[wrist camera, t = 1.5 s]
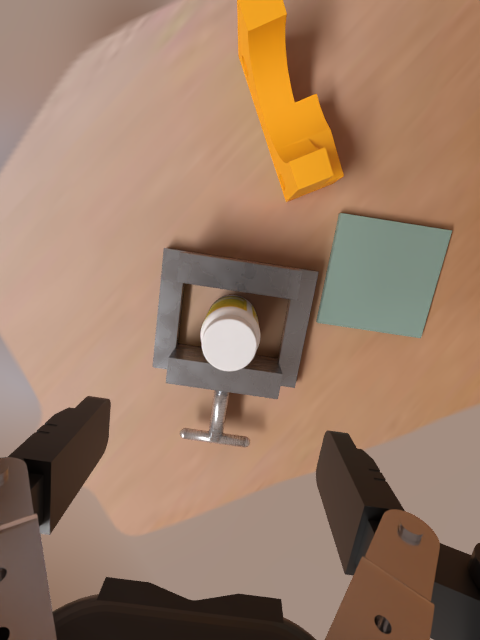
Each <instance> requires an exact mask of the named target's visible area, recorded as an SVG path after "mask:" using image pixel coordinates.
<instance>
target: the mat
mask: <svg viewBox="0 0 480 640" xmlns="http://www.w3.org/2000/svg"><path fill="white" fill-rule="evenodd" d="M451 233H452V231H451V230H445V229H439V228H432V227H426V226H420V225H413V224H407V223H401V222H395V221H388V220H382V219H376V218H369V217H363V216H357V215H350V214H344V213H340V214H339V217H338V221H337V226H336V231H335V235H334V240H333V245H332V250H331V254H330V259H329V264H328V269H327V273H326V278H325V283H324V288H323V292H322V297H321V302H320V306H319V311H318V316H317V322H318V323H323V324H330V325H336V326H343V327H350V328H356V329H363V330H370V331H376V332H383V333H390V334H396V335H403V336H410V337H416V338H421V336H422V333H423V329H424V326H425V322H426V319H427V315H428V312H429V309H430V305H431V302H432V298H433V295H434V291H435V288H436V285H437V281H438V278H439V274H440V271H441V267H442V264H443V261H444V257H445V254H446V250H447V247H448V243H449V240H450V236H451Z"/></svg>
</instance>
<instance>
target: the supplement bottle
mask: <svg viewBox="0 0 480 640" xmlns="http://www.w3.org/2000/svg"><path fill="white" fill-rule="evenodd" d="M200 336H201V342H202V351H203V354H204V356H205V358H206V360H207V361H208V362H209V363H210V364H211V365H212V366H214V367H215V368H217V369H220V370H223V371H236V370H239V369H242V368H244V367H245V366H247V365H248V364H249V363H250V362H251V361H252V359H253V358H254V356H255V353H256V350H257V348H258V346H259V343H260V337H261V335H260V328H259V323H258V318H257V313H256V310H255V308H254V307H253V305H252V304H251V303H250V302H249V301H248V300H246V299H245V298H243V297H240V296H237V295H228V296H224V297H222V298H220V299H218V300H217V301H216V302H215V303H214V304H213V305H212V306H211V308H210V310H209V312H208V314H207V316H206V318H205V320H204V322H203V324H202V327H201V334H200Z"/></svg>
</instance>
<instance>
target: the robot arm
mask: <svg viewBox="0 0 480 640" xmlns="http://www.w3.org/2000/svg"><path fill="white" fill-rule="evenodd" d="M110 407H111V403H110V400H109V399H106V398H99V397H92V396H87V397H86V398H85V399H84V400H83V401H82V402H81V403H80V404H79V405H78V406H77V407H76V408H67V409H65V410H63V411H61V412H59V413H57V414H55V415H54V416H52V417H51V418H50V419H49V420H48V421H47V422H46V423H45V425H43V426H41V427H40V428H39V429H38V430H37V432H36V433H34V434H33V435H31V436H30V437H29V438H28V439H27V440H26V441H25V442H24V443H23V444H21V445H20V446H19V447H18V448H17V449H16V450H15V451H14V452H13V453H11V454H10V455H9V456H8V457H3V458H0V640H316V639H315V638H314V637H313V636H312V635H310V634H309V633H308V632H307V631H305V630H304V629H303V628H301V627H300V626H299V625H297V624H295V623H293V622H292V621H290V620H288V619H286V618H284V617H283V612H282V603H281V599H276V598H268V597H260V596H252V595H244V594H235V595H228V596H222V597H216V598H209V599H203V600H196V601H193V600H188V599H186V598H184V597H182V596H179V595H177V594H175V593H172V592H170V591H168V590H165V589H163V588H160V587H158V586H156V585H154V584H151V583H149V582H141V581H133V580H124V579H117V578H109V577H106V578H105V581H104V583H103V586H102V588H101V591H100V593H99V594H97V595H92V596H88V597H84V598H81V599H78V600H76V601H73V602H71V603H68V604H66V605H64V606H62V607H60V608H58V609H56V610H55V611H53V612H52V606H51V599H50V592H49V586H48V580H47V573H46V567H45V560H44V554H43V547H42V542H41V534H48V535H50V534H51V532H52V531H53V529H54V528H55V526H56V525H57V523H58V522H59V520H60V519H61V517H62V516H63V514H64V513H65V511H66V510H67V508H68V507H69V505H70V504H71V502H72V501H73V499H74V498H75V496H76V495H77V493H78V492H79V490H80V489H81V487H82V486H83V484H84V483H85V481H86V480H87V478H88V477H89V475H90V474H91V472H92V471H93V469H94V468H95V466H96V465H97V463H98V462H99V460H100V459H101V457H102V455H103V454H104V452H105V449H106V446H107V443H108V437H109V422H110ZM316 481H317V486H318V489H319V492H320V496H321V499H322V502H323V505H324V509H325V511H326V515H327V518H328V522H329V525H330V528H331V531H332V534H333V537H334V541H335V544H336V547H337V550H338V554H339V557H340V560H341V563H342V566H343V569H344V573H345V574H347V575H353V578H352V580H351V582H350V584H349V587H348V589H347V591H346V593H345V596H344V598H343V600H342V602H341V605H340V607H339V609H338V611H337V614H336V616H335V618H334V620H333V623H332V625H331V627H330V629H329V631H328V634H327V636H326V638H325V640H430V638H432V639H434V640H480V543H478V544H477V545H476V546H475V548H474V551H473V553H472V555H469V554H467V553H464V552H461V551H459V550H456V549H454V548H451V547H448V546H446V545H443V544H441V543H439V540H438V537H437V536H436V534H435V533H434V531H433V530H432V529H431V528H430V527H429V526H428V525H427V524H426V523H425V522H424V521H422V520H421V519H420V518H418V517H416V516H415V515H413V514H410V513H408V512H406V511H404V509H403V507H402V506H401V504H400V502H399V501H398V499H397V498H396V496H395V494H394V493H393V491H392V490H391V488H390V486H389V485H388V483H387V482H386V481H385V478H384V476H383V475H382V473H380V470H379V468H378V466H377V465H376V463H375V462H374V460H373V459H372V458H371V457H370V456H369V455H368V454H367V453H365V452H364V451H363V450H362V449H357V448H356V446H355V444H354V443H353V441H352V439H351V437H350V435H349V434H348V433H342V432H335V431H326V433H325V435H324V439H323V443H322V447H321V451H320V456H319V460H318V464H317V469H316Z"/></svg>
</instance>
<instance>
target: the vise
mask: <svg viewBox="0 0 480 640" xmlns="http://www.w3.org/2000/svg"><path fill="white" fill-rule="evenodd" d="M317 277H318V272H317V271H312V270H306V269H299V268H293V267H286V266H280V265H273V264H267V263H260V262H254V261H247V260H241V259H234V258H228V257H221V256H215V255H208V254H202V253H195V252H189V251H182V250H176V249H169V248H164V252H163V263H162V274H161V284H160V295H159V305H158V316H157V327H156V337H155V348H154V358H153V367H155V368H162V369H167V377H166V383H169V384H176V385H183V386H190V387H197V388H204V389H211V390H215V392H214V399H213V406H212V413H211V420H210V427H209V431H203V430H196V429H189V428H183V429H182V430H181V431H180V436H181V438H183V439H189V440H196V441H204V442H211V443H218V444H225V445H232V446H239V447H248V446H249V445H250V439H249V438H248V437H246V436H238V435H231V434H224V433H223V430H224V423H225V417H226V410H227V404H228V397H229V392H231V393H238V394H245V395H252V396H259V397H266V398H273V399H278V396H279V390H280V386H286V387H293V388H295V384H296V379H297V374H298V369H299V365H300V360H301V355H302V350H303V345H304V340H305V335H306V330H307V326H308V321H309V316H310V311H311V306H312V301H313V296H314V292H315V287H316V282H317ZM185 283H187V284H193V285H200V286H206V287H213V288H220V289H226V290H233V291H239V292H246V293H253V294H259V295H266V296H272V297H279V298H286V299H289V302H288V307H287V313H286V318H285V323H284V328H283V334H282V339H281V344H280V350H279V355H278V358H271V357H265V356H258V355H255V356H254V358H253V359H252V361H251V362H250V363H249V364H248V365H247V366H245V367H244V368H242V369H239V370H236V371H223V370H220V369H217V368H215V367H214V366H212V365H211V364H210V363H209V362H208V361H207V360H206V358H205V356H204V354H203V351H202V347H197V346H190V345H183V344H178V337H179V329H180V320H181V311H182V302H183V293H184V284H185Z"/></svg>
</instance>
